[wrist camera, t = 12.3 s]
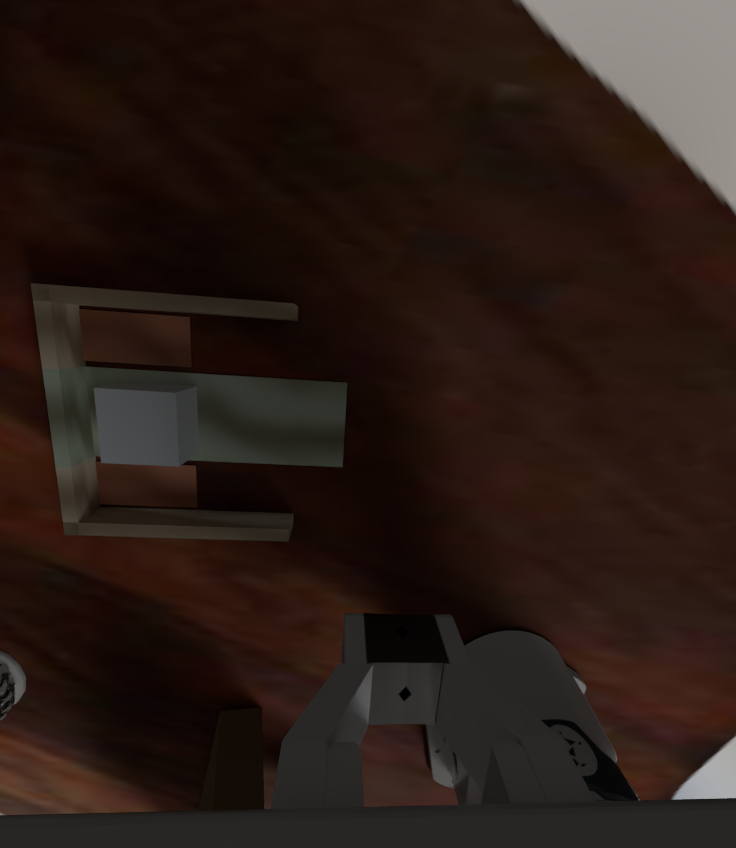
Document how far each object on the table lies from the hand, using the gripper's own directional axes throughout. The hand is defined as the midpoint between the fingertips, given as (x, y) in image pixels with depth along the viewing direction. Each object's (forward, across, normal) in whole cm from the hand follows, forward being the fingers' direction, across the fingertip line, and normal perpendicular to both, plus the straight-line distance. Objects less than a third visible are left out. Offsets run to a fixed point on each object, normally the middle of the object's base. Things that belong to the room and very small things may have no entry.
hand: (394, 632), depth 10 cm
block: (+24, +18, 0) cm, 30 cm away
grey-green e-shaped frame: (+24, +13, 0) cm, 27 cm away
